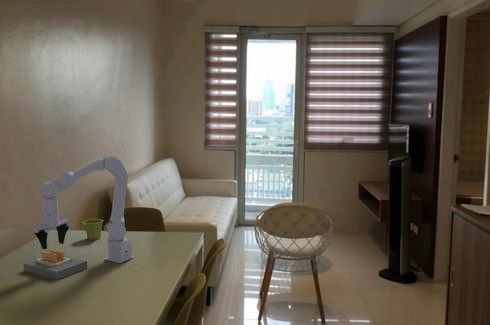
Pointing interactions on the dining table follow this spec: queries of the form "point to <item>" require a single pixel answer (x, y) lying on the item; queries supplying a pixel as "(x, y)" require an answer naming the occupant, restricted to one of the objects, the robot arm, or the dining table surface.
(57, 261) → the chute
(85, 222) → the plant pot
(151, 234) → the dining table surface
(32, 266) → the large grey panel
